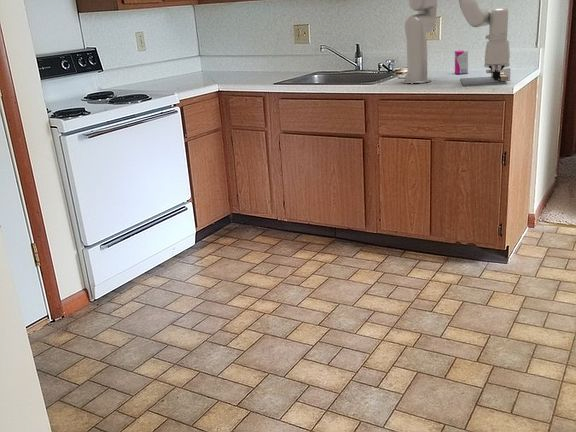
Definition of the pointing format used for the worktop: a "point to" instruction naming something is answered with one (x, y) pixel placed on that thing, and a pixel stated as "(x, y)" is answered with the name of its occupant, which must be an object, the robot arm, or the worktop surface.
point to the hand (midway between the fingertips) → (496, 80)
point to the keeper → (506, 72)
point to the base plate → (480, 81)
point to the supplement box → (461, 62)
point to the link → (501, 75)
